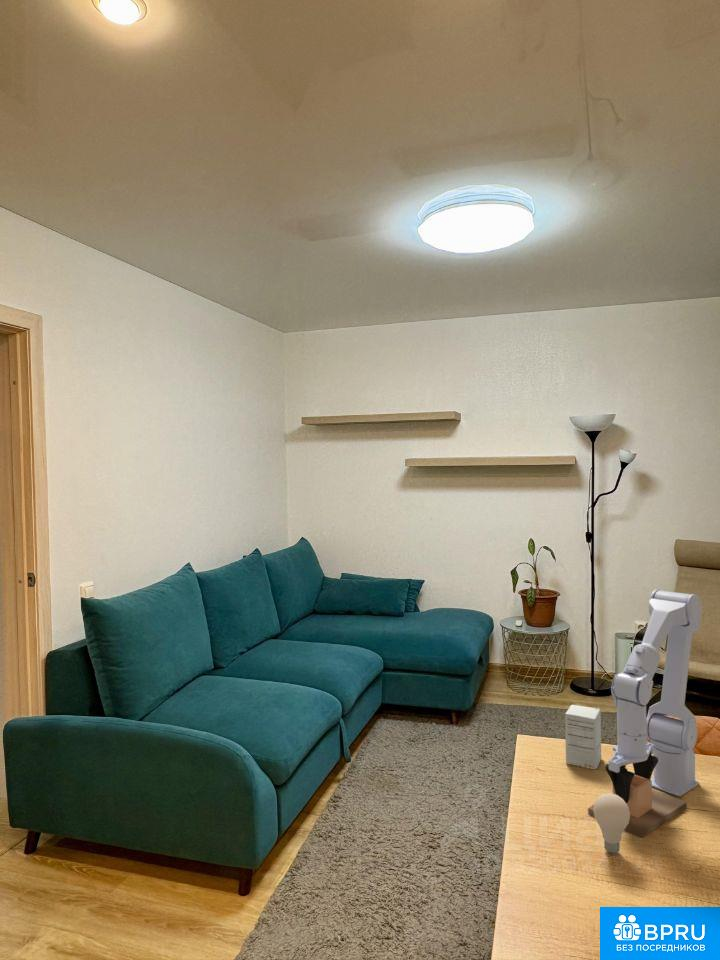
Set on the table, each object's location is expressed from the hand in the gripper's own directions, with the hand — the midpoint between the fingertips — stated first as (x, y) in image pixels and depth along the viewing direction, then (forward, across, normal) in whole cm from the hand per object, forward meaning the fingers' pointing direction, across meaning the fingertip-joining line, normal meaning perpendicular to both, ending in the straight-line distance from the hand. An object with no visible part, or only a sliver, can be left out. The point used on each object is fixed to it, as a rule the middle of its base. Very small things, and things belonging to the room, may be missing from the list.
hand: (632, 795), depth 141 cm
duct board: (+4, -2, 0) cm, 4 cm away
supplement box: (+4, -14, -21) cm, 26 cm away
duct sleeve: (+3, 0, 0) cm, 3 cm away
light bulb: (+4, +16, +5) cm, 17 cm away
